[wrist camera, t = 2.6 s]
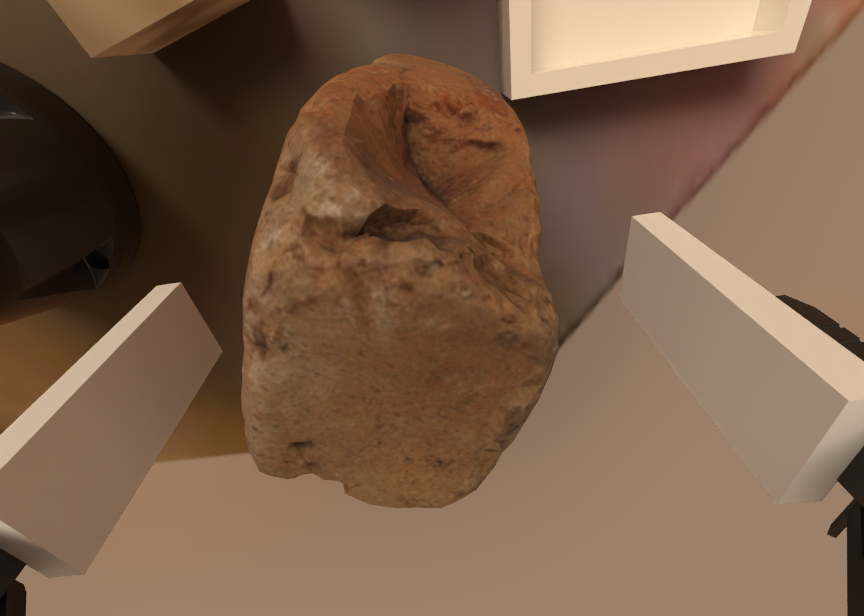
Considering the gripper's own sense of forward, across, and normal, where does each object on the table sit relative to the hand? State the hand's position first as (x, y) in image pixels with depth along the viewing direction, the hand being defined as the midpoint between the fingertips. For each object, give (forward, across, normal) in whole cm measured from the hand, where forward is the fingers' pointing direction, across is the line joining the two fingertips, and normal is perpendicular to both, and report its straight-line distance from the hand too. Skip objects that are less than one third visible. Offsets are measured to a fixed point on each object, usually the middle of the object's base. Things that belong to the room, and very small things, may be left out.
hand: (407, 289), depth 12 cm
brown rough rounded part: (+16, 0, 0) cm, 16 cm away
